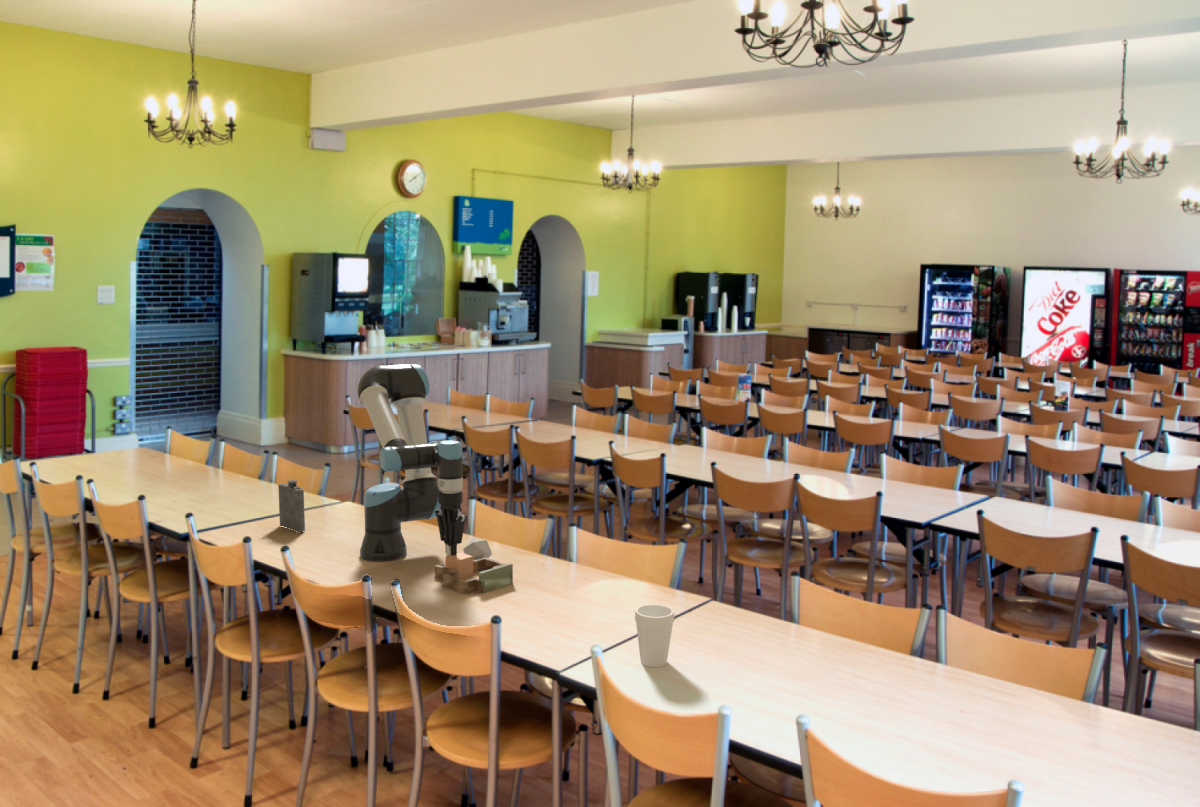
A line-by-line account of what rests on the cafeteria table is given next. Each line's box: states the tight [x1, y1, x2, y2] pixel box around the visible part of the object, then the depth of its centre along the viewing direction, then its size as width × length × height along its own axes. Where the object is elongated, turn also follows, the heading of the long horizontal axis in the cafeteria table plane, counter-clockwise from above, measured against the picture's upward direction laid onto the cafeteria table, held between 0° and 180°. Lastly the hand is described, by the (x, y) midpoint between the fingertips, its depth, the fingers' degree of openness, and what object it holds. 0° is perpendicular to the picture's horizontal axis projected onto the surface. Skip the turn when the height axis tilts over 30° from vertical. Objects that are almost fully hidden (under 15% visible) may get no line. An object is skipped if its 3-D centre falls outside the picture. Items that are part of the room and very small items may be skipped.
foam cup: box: [634, 603, 675, 668], centre depth 230 cm, size 10×9×13 cm
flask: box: [278, 479, 306, 533], centre depth 344 cm, size 4×14×18 cm, turn 49°
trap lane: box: [434, 557, 514, 595], centre depth 290 cm, size 22×20×6 cm
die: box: [462, 537, 493, 560], centre depth 307 cm, size 8×9×10 cm
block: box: [445, 552, 474, 579], centre depth 294 cm, size 6×6×6 cm
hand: (451, 564), depth 297 cm, fingers closed
